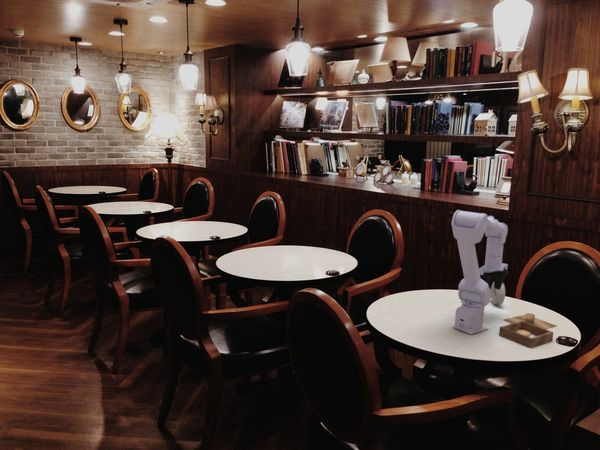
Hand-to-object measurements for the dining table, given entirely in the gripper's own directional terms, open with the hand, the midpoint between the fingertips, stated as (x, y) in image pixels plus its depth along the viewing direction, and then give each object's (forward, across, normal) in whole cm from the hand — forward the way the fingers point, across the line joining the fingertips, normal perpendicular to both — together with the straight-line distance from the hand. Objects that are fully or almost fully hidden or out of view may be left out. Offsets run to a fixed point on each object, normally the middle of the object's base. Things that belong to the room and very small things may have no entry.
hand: (490, 290), depth 195 cm
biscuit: (+11, -3, -17) cm, 20 cm away
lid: (+11, +8, -11) cm, 18 cm away
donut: (+11, +16, +8) cm, 21 cm away
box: (+10, -6, -19) cm, 22 cm away
